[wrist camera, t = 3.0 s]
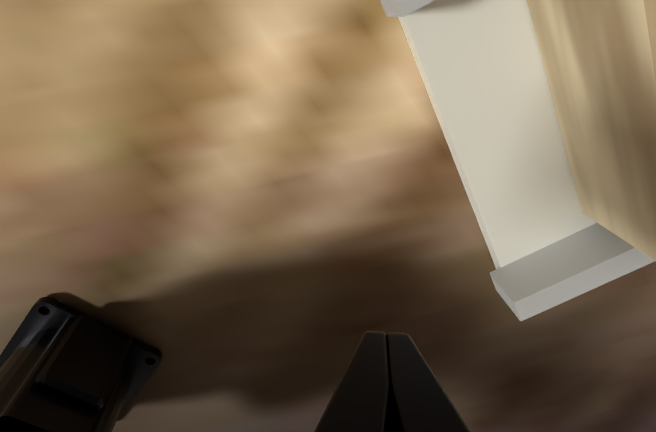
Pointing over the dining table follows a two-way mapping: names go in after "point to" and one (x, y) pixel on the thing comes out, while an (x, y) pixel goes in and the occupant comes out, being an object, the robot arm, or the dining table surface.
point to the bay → (510, 150)
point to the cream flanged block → (605, 106)
